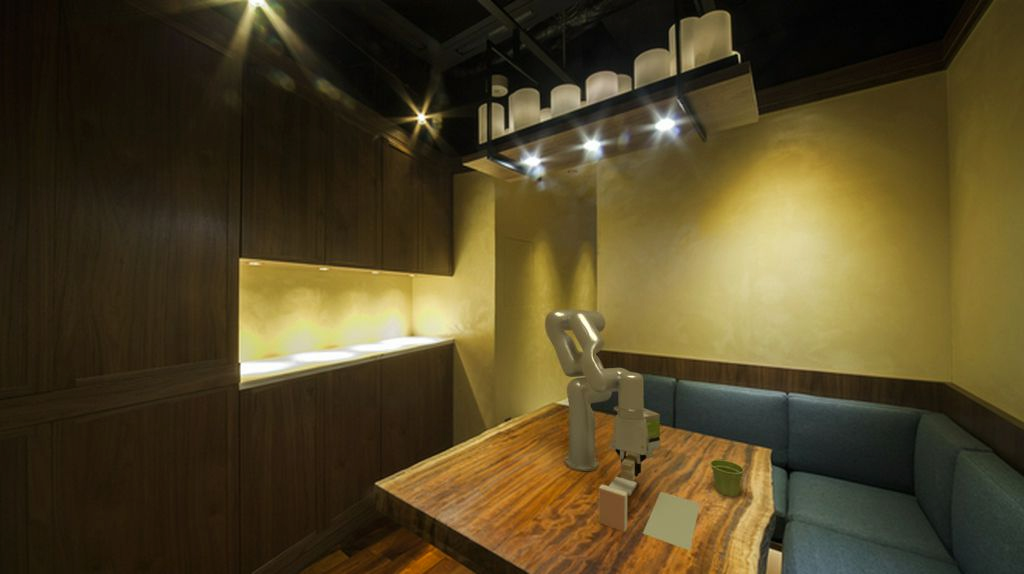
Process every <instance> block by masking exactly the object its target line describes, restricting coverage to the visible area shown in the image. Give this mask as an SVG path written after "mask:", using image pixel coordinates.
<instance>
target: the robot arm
mask: <svg viewBox="0 0 1024 574" xmlns="http://www.w3.org/2000/svg"><path fill="white" fill-rule="evenodd" d="M604 317H605V316H604V315H603V314H602V313H600V312H599V311H596V310H595V311H594V310H593V311H591V310H584V309H581V310H580V309H558V310H557V309H556V310H553V311H550V312H548V313H547V315H546V316H545V320H544V328H545V333H546V334H547V335H546V336H547V337H548V339H549V341H550V342H551V345H552V346H553V348H554V350H555V354H556V357H557V359H558V362H559V364H560V367H561V370H562V371H563V373H564V375H565V376H566V377H569V378H573V379H572V380H571V379H570V381H569V382H568V383H567V386H566V395H567V401H568V413H569V414H568V417H569V418H568V419H569V420H568V421H569V422H568V454H567V455H565V457H564V464H565V465H566V466H567V467H568V468H571V469H572V470H576V471H580V472H592V471H594V470H597V469H598V468H599V466H600V462H599V459H597V458H596V456H595V455H596V454H595V453H596V452H595V451H596V449H597V448H596V445H595V443H596V441H595V440H596V435H595V434H596V417H595V415H596V414H595V413H594V410H593V409H592V407H591V404H594V403H601V402H606V401H608V400H609V399H610V398H611V396H612V393H613V392H614V393H615V392H617V393H618V396H617V397H618V401H617V402H618V404H617V405H616V406H613V411H614V412H617V414H616V415H615V417H614V418H615V419H614V423H613V431H612V432H613V433H612V440H611V443H610V444H609V448H611V449H612V450H613V451H615V453H616V454H617V456H619V459H620V464H621V463H622V462H623V460H624V459H625V458H626V457H627V453H634V454H636V462H635V476H636V477H638V476H639V475H640V474H641V473H642V467H641V462H642V461H643V462H644V461H645V460H647V459H651V458H653V457H654V452H653V451H652V450H651V448H650V446H649V437H648V428H647V422H646V419H645V418H644V408H645V407H644V405H645V404H644V400H645V399H644V397H645V396H644V394H645V393H644V377H643V375H642V374H640V373H638V372H634V371H629V370H628V369H626V368H623V367H613V368H612V367H609V368H604V365H603V364H602V361H601V359H600V358H599V356H598V355H597V354H598V353H599V352H600V351H601V350H603V348H604V347H605V344H606V343H605V339H604V337H603V336H602V334H601V332H603V331H604V329H605V328H606V320H605V318H604ZM565 331H572V333H573V335H574V337H575V338H576V340H577V342H578V344H579V346H580V348H581V349H582V351H580V350H579V349H578V348H577V345H576V343H575V340H574V339H573V338H572V337H571V336H570V335H569V334H568V333H566V332H565ZM636 477H635V478H636Z"/></svg>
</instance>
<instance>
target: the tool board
mask: <svg viewBox="0 0 1024 574" xmlns="http://www.w3.org/2000/svg"><path fill="white" fill-rule="evenodd" d="M700 505H701V504H700V502H696V501H694V500H689V499H686V498H683V497H679V496H676V495H672V494H670V493H667V492H662V491H660V492H659V494H658V496H657V499H656V502H655V503H654V506H653V509H652V511H651V513H650V515H649V518H648V520H647V522H646V525H645V526H644V529H643V532H642V534H643V535H645V536H648V537H652V538H654V539H657V540H659V541H662V542H665V543H668V544H670V545H672V546H675V547H679V548H680V549H681V548H682V549H684V550H686V551H688V552H691V548H692V543H693V540H694V534H695V530H696V529H695V528H696V524H697V519H698V515H699V509H700Z"/></svg>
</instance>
